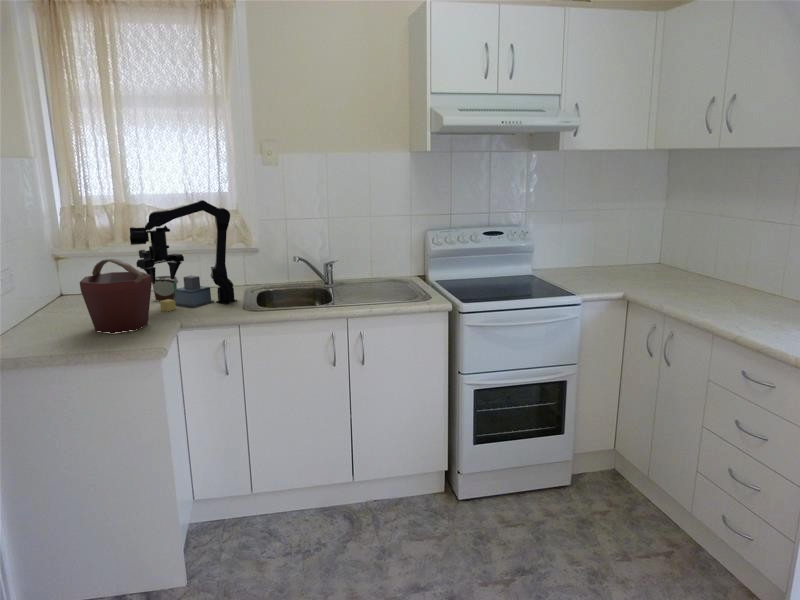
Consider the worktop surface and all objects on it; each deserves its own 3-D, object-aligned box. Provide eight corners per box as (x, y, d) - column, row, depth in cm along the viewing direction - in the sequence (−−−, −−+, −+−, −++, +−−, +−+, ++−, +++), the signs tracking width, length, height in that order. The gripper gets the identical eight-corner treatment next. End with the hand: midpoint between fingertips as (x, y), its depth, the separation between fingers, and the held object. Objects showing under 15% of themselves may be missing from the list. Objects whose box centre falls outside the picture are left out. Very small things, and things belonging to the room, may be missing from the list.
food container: (186, 298, 252) (183, 276, 250) (177, 301, 246) (174, 279, 244) (162, 297, 255) (159, 275, 253) (152, 300, 250) (150, 277, 247)
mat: (214, 301, 246) (214, 300, 246) (192, 307, 236) (192, 306, 236) (194, 298, 252) (194, 297, 252) (172, 304, 241) (172, 303, 241)
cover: (211, 301, 246) (209, 275, 243) (192, 306, 237) (190, 279, 234) (194, 298, 250) (192, 273, 248) (176, 303, 242) (173, 277, 239)
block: (175, 309, 233) (174, 300, 233) (167, 312, 230) (166, 302, 229) (169, 308, 235) (168, 299, 234) (160, 310, 232) (159, 301, 231)
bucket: (164, 328, 207) (157, 259, 201) (98, 342, 192) (88, 268, 186) (138, 316, 224) (131, 252, 218) (76, 327, 209) (66, 259, 203)
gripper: (164, 239, 242) (168, 275, 245) (125, 245, 226) (129, 284, 230) (183, 240, 237) (186, 278, 240) (143, 246, 221) (148, 286, 224)
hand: (163, 281), depth 234 cm, fingers open, 9 cm apart
